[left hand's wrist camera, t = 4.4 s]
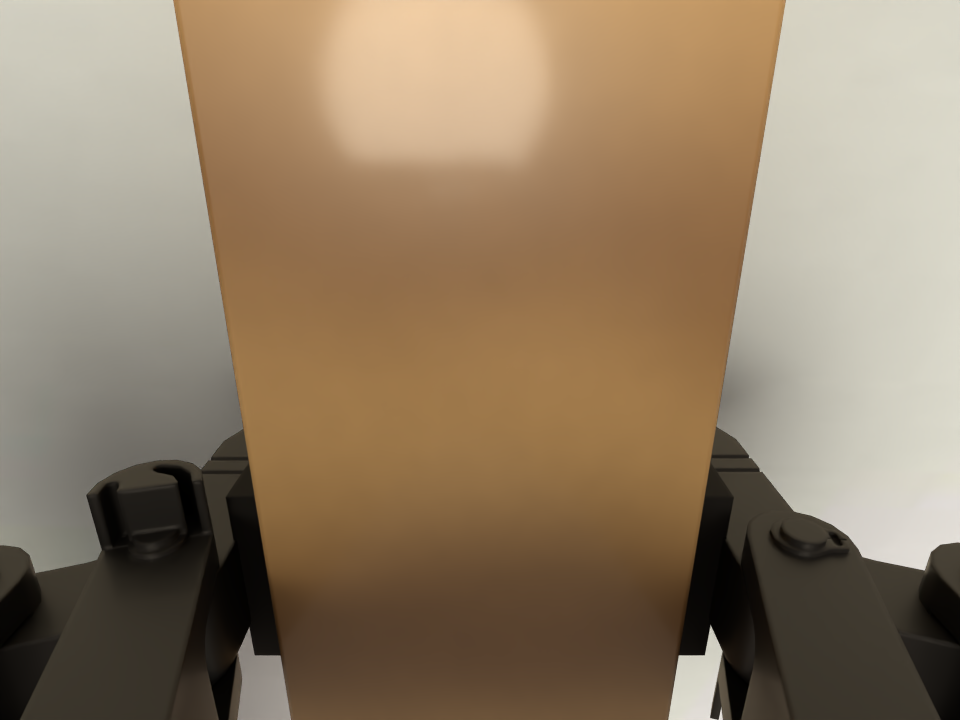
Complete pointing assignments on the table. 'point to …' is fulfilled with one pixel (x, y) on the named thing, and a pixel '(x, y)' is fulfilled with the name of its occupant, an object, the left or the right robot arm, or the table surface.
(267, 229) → the bar
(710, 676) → the table surface
